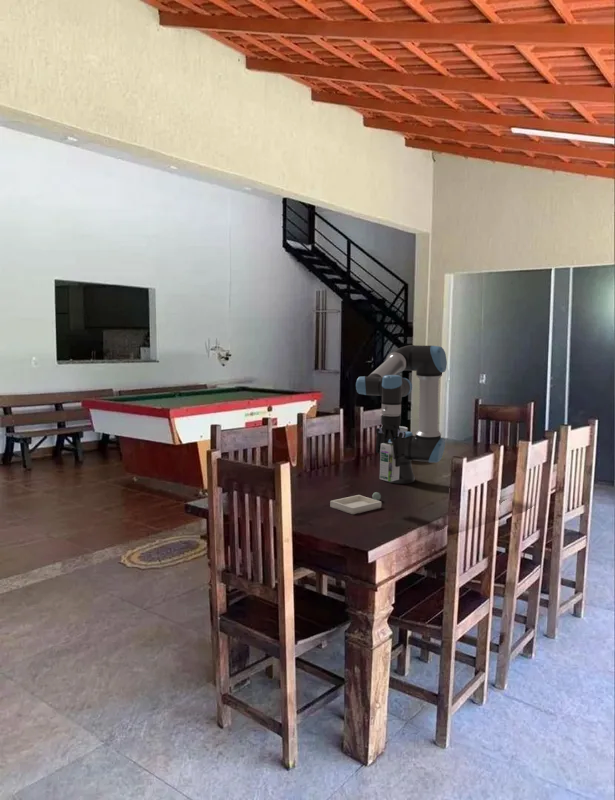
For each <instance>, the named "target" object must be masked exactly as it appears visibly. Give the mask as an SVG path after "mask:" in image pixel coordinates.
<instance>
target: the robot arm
mask: <svg viewBox="0 0 615 800" xmlns="http://www.w3.org/2000/svg"><path fill="white" fill-rule="evenodd" d="M447 363H448V362H447V353H446V351H445V349H444V348H443V347H442V346H439V345H417V344H415V345H414V344H409V345H405V346H401V347H399V348H397V349H395V350H393V351H391V353H389V354H388V355H387V357H386V358H385V361H384V362H382V363H381V364H380V365H379V366H378V367H377V368H376V369H375V370H373V371H372V372H371V373H370V374H369V375H368V376H365V375H364V376H358V378H357V379H356V382H355V390H356V393H357V394H359V395H364V396H375V397H377V396H380V397H381V417H380V418H381V419H380V421H381V422H380V423H381V425H382V426H381V427H382V428H381V427H377V428H376V429H375V432H376V444H375V453H377V454H378V455H379V456H380V449H381V444H382V443H388V442H391V443H392V445H393V451H394V456H395V457H394V458H393V475H397V474H399V480H396V481H392V482H389V481H385V480H383V481H384V482H385V483H390V484H391V483H392V484H397V485H398V484H400V485H401V484H402V485H403V484H404V485H405V484H406V485H407V484H412V483H414V482H415V478H416V477H415V474H414V471H413V466H412V461H417V462H423V463H425V462H426V463H428V464H429V463H435V464H436V463H439V462H440V461H441V460H442V457H443V455H444V453H445V452H444V451H445V447H446V441H445V438H443V437H442V434H441V432H440V431H439V430H438V426H439V425H438V424H439V421H438V420H439V381H440V380H439V379H441V377H442V376H443V373H445V372H446V370H447ZM403 371H414V372H415V374H416V375H415V376H416V377H417V378H418V379H419V381H418V383H419V385H418V386H419V388H418V390H419V391H418V393H419V394H418V395H419V396H418V398H419V399H418V401H419V403H418V430H417V431H416V432H415V434H413V431H407V432H401V431H400V428H399V426H401V421H402V419H401V417H402V416H401V414H402V398H404V397H407V396H408V395H410V394H411V392H412V391H413V384H412V382H411V380H409V379H408V378H406V377H402V376H401V375H400V374H399V375H398V373H401V372H403ZM399 466H400V467H399Z"/></svg>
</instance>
